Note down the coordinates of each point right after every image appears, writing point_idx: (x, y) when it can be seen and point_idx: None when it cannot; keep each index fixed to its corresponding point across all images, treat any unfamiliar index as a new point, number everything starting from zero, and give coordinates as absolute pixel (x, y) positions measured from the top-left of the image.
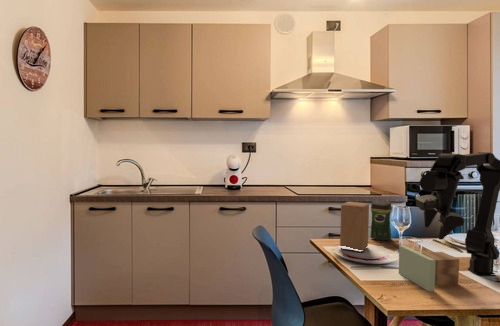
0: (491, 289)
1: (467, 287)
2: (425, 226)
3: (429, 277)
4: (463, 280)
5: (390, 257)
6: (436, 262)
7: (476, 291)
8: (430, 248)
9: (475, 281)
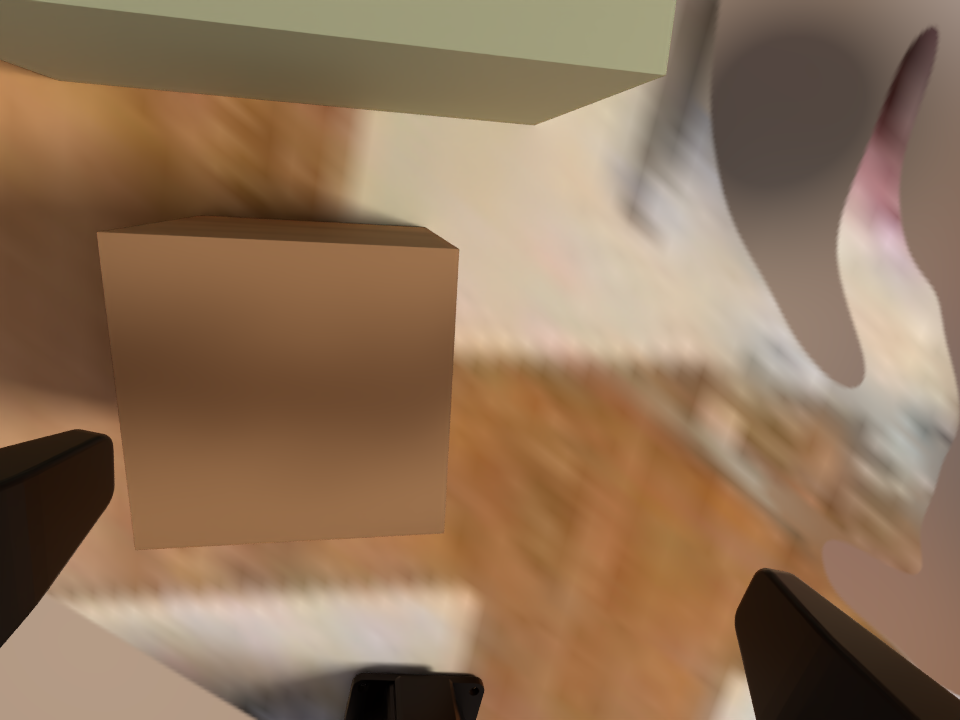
0: (84, 590)
1: None
2: (770, 576)
3: None
4: None
5: (867, 277)
6: (143, 231)
7: None
8: None
9: (254, 583)
